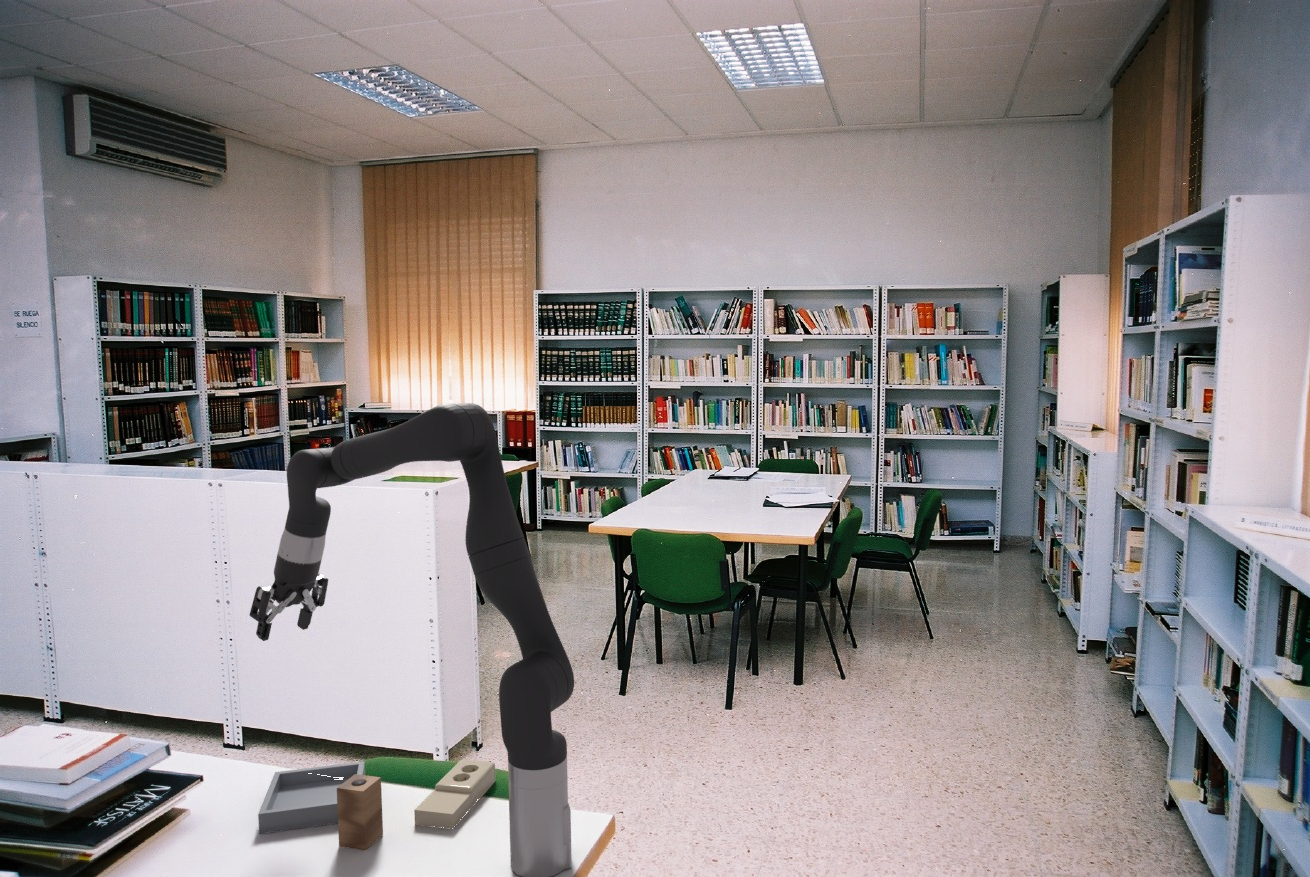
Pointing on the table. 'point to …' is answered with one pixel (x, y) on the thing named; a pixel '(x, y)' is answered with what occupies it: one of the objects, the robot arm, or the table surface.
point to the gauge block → (359, 812)
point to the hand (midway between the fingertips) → (282, 633)
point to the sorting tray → (304, 797)
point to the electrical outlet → (455, 794)
